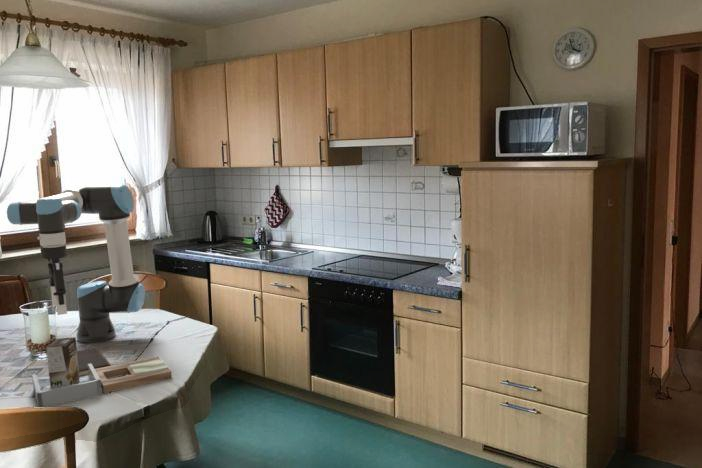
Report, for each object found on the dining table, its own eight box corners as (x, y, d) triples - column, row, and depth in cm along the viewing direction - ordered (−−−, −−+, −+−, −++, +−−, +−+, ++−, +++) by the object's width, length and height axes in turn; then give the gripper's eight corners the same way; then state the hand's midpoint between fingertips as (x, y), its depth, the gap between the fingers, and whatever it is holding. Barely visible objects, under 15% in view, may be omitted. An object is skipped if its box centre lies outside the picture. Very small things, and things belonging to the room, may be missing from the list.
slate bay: (33, 389, 205) (32, 374, 205) (92, 377, 215) (91, 363, 214) (38, 408, 190) (36, 393, 189) (102, 394, 199) (100, 380, 198)
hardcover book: (63, 380, 214) (62, 374, 213) (54, 361, 233) (53, 356, 233) (111, 370, 222) (111, 364, 222) (98, 353, 241) (98, 347, 241)
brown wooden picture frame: (94, 375, 216) (94, 368, 215) (158, 362, 227) (157, 355, 227) (103, 393, 201) (103, 385, 200) (171, 378, 212) (171, 370, 211)
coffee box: (70, 393, 201) (65, 345, 199) (50, 394, 201) (45, 346, 198) (80, 382, 210) (76, 337, 208) (61, 383, 210) (56, 338, 208)
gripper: (36, 242, 207) (42, 303, 210) (44, 252, 186) (51, 320, 189) (60, 239, 211) (66, 300, 214) (71, 249, 190) (77, 316, 193)
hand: (59, 309), depth 202 cm, fingers open, 13 cm apart
